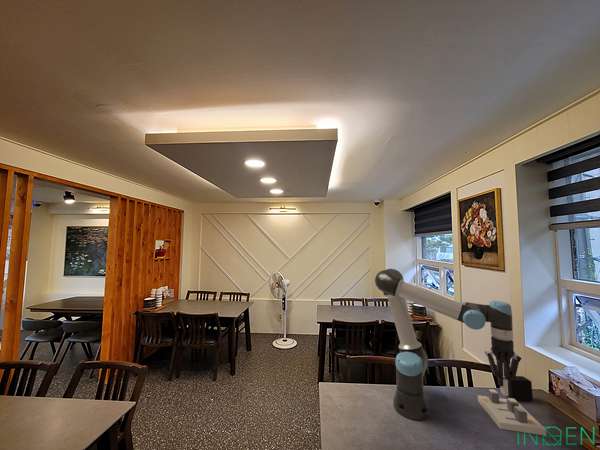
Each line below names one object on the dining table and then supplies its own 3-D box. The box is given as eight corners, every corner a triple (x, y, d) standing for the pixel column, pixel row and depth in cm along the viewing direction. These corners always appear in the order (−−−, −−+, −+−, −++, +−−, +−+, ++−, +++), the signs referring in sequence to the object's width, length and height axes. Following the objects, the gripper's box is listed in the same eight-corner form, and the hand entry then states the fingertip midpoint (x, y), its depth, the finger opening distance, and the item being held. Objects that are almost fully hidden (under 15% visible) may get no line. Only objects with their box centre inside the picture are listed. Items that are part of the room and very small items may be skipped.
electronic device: (533, 402, 118) (531, 380, 119) (512, 401, 118) (511, 380, 119) (525, 396, 122) (523, 376, 123) (505, 396, 122) (504, 375, 123)
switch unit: (500, 428, 100) (499, 422, 100) (477, 400, 118) (477, 395, 119) (546, 435, 96) (545, 428, 97) (515, 405, 115) (515, 399, 115)
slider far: (492, 402, 113) (491, 392, 113) (488, 398, 116) (488, 388, 116) (499, 403, 112) (498, 393, 113) (495, 399, 115) (495, 389, 116)
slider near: (519, 421, 100) (518, 410, 101) (514, 416, 103) (513, 405, 104) (527, 422, 100) (526, 411, 100) (522, 418, 103) (521, 406, 103)
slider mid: (511, 412, 106) (510, 401, 107) (507, 408, 109) (506, 397, 110) (519, 413, 106) (518, 402, 106) (515, 409, 108) (514, 398, 109)
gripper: (489, 339, 104) (491, 396, 102) (525, 342, 101) (528, 401, 99) (480, 333, 111) (482, 386, 109) (513, 336, 108) (516, 391, 106)
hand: (504, 393), depth 104 cm, fingers closed
